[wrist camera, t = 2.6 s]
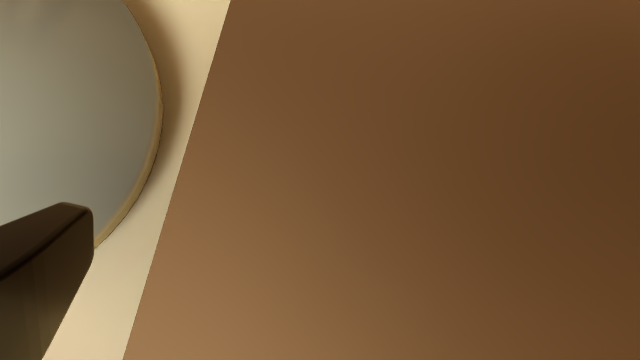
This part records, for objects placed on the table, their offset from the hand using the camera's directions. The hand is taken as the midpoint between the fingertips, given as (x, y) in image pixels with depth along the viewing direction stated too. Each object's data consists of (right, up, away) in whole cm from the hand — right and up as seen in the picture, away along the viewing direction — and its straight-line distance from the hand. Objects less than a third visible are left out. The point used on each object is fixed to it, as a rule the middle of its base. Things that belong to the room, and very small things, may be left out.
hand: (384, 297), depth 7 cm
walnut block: (-1, -1, +9) cm, 9 cm away
